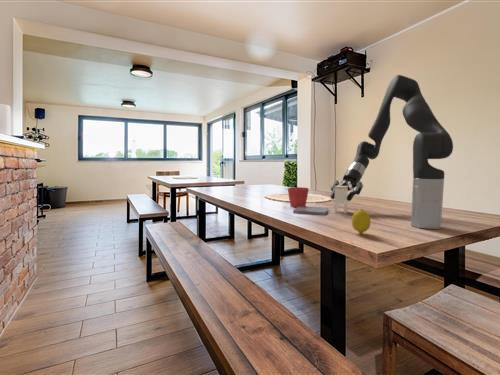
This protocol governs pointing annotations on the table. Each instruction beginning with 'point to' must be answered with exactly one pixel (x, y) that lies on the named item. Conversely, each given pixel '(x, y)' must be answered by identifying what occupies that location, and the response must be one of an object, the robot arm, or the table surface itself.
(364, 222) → the lemon
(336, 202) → the stool
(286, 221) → the table surface
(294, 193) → the flower pot
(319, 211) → the trivet
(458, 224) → the table surface
